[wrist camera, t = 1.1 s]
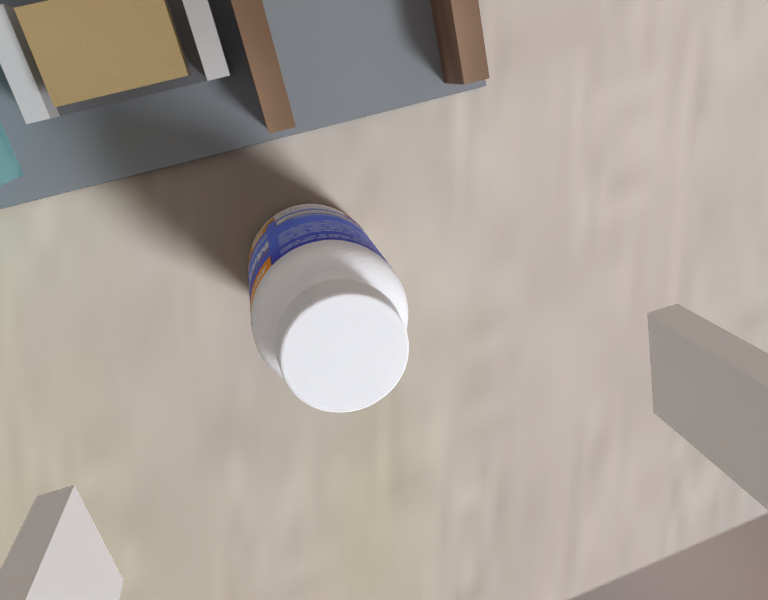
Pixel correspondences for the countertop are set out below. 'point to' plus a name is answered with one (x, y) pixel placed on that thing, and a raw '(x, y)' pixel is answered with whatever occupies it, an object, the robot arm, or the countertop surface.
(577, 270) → the countertop surface
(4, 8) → the cradle base
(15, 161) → the teal open box
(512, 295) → the countertop surface
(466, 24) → the trough
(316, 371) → the pill bottle
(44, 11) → the pad
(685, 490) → the countertop surface
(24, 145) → the mat
